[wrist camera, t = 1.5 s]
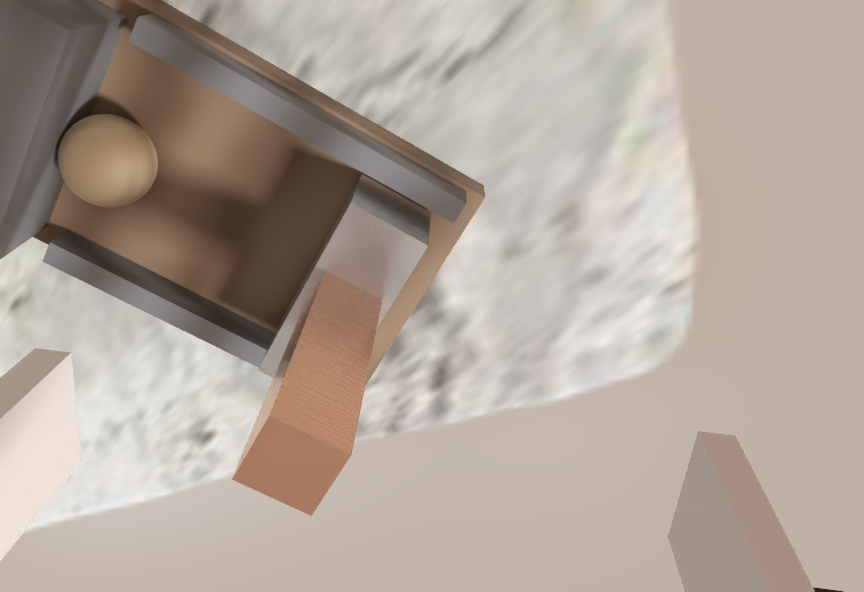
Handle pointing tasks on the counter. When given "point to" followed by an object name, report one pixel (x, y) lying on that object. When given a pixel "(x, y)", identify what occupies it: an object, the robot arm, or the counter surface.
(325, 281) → the sliding jaw
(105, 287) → the base
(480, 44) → the counter surface
